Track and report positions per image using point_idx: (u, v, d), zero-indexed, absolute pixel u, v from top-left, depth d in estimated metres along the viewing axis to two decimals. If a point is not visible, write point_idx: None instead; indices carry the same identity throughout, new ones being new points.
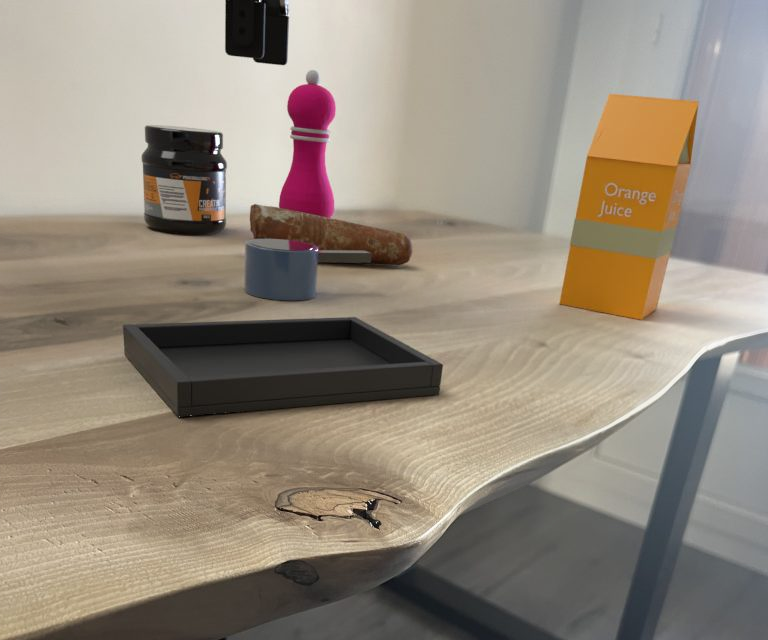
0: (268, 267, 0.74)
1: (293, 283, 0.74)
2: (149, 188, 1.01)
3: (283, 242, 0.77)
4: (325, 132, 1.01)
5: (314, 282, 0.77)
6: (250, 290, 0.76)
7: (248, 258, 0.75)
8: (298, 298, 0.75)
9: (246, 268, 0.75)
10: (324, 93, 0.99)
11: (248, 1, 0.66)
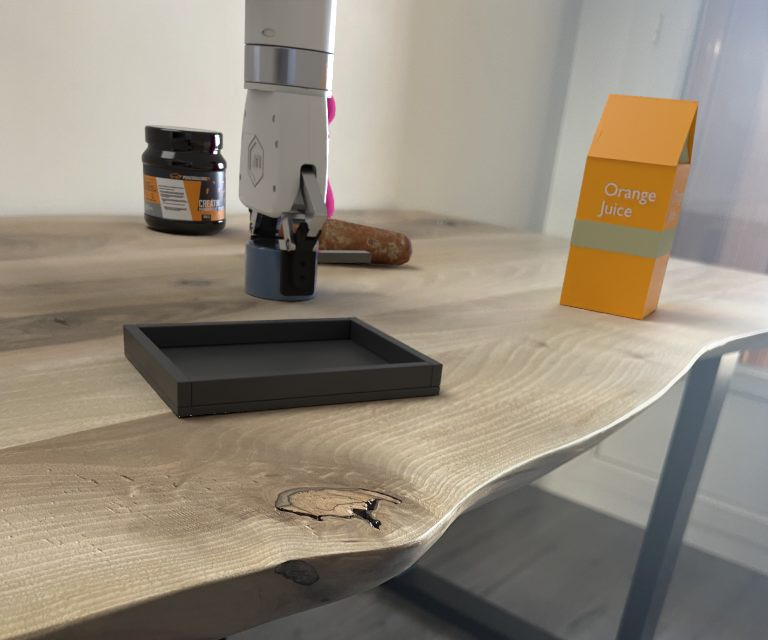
0: (268, 267, 0.74)
1: None
2: (149, 188, 1.01)
3: (283, 242, 0.77)
4: None
5: None
6: (250, 290, 0.76)
7: (248, 258, 0.75)
8: (298, 298, 0.75)
9: (246, 268, 0.75)
10: None
11: (308, 253, 0.72)
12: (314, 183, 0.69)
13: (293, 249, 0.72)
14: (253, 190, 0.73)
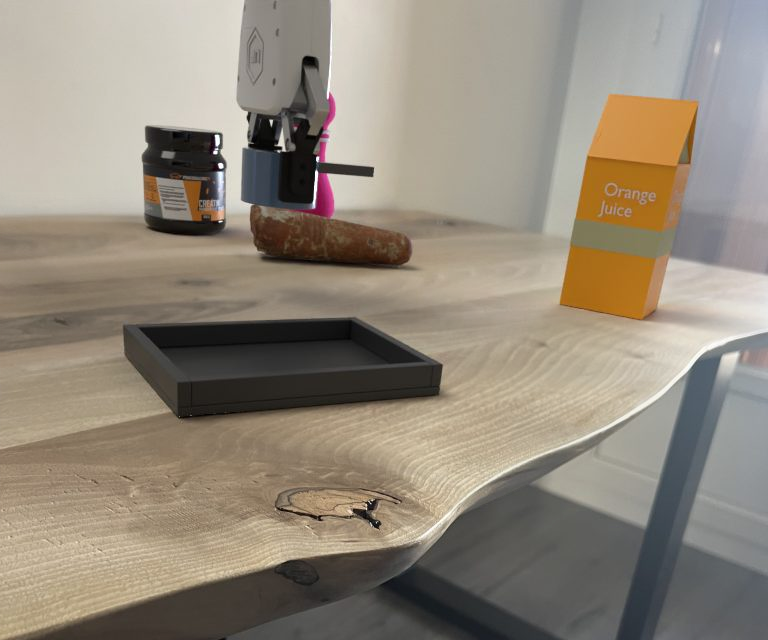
0: (266, 171, 0.70)
1: None
2: (149, 188, 1.01)
3: (282, 150, 0.73)
4: (325, 132, 1.01)
5: (314, 192, 0.73)
6: (247, 198, 0.72)
7: (245, 163, 0.71)
8: (297, 207, 0.72)
9: (243, 174, 0.72)
10: None
11: (308, 155, 0.69)
12: (316, 76, 0.65)
13: (293, 149, 0.68)
14: (252, 89, 0.69)
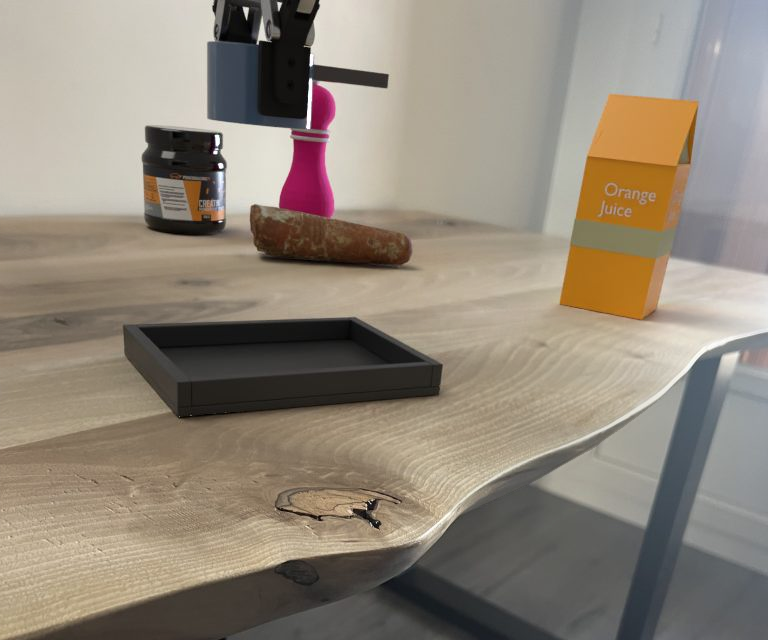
0: (240, 71, 0.50)
1: None
2: (149, 188, 1.01)
3: None
4: (325, 132, 1.01)
5: (308, 105, 0.53)
6: (215, 113, 0.52)
7: (211, 63, 0.51)
8: (285, 124, 0.52)
9: (208, 80, 0.52)
10: (324, 93, 0.99)
11: (298, 46, 0.49)
12: None
13: (277, 36, 0.48)
14: None
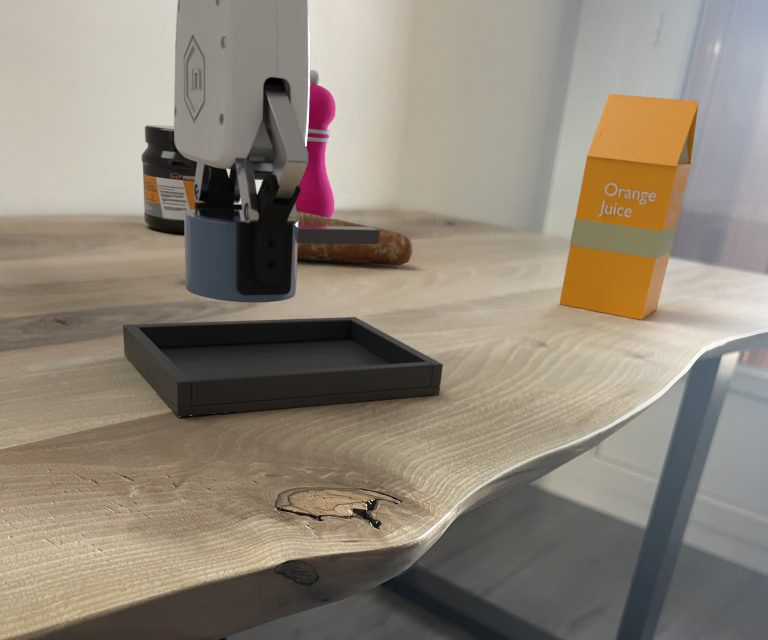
0: (218, 249, 0.47)
1: None
2: (149, 188, 1.01)
3: None
4: (325, 132, 1.01)
5: (293, 274, 0.50)
6: (193, 287, 0.49)
7: (188, 236, 0.48)
8: (267, 299, 0.48)
9: (186, 252, 0.49)
10: (324, 93, 0.99)
11: (279, 226, 0.45)
12: (287, 109, 0.42)
13: (255, 220, 0.45)
14: (192, 127, 0.46)
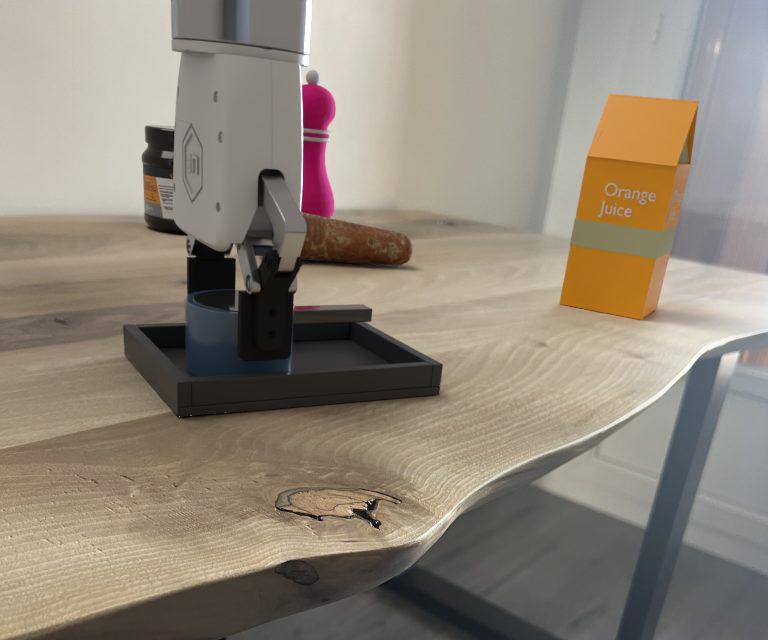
0: (217, 336, 0.49)
1: None
2: (149, 188, 1.01)
3: None
4: (325, 132, 1.01)
5: None
6: (193, 369, 0.51)
7: (188, 322, 0.50)
8: None
9: (186, 335, 0.51)
10: (324, 93, 0.99)
11: (280, 296, 0.46)
12: (282, 189, 0.44)
13: (257, 291, 0.45)
14: (190, 208, 0.48)
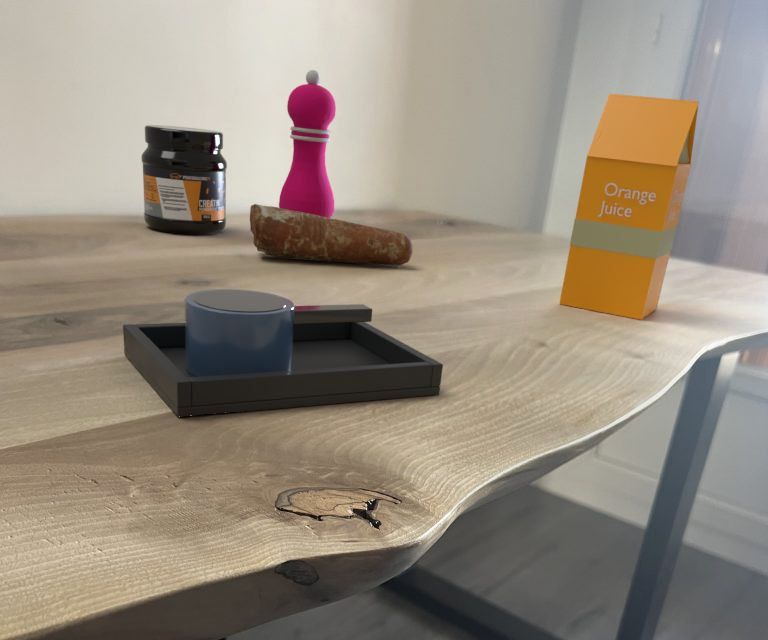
0: (217, 336, 0.49)
1: (255, 359, 0.50)
2: (149, 188, 1.01)
3: (243, 296, 0.52)
4: (325, 132, 1.01)
5: (288, 355, 0.52)
6: (193, 369, 0.51)
7: (188, 322, 0.50)
8: None
9: (186, 335, 0.51)
10: (324, 93, 0.99)
11: None
12: None
13: None
14: None
